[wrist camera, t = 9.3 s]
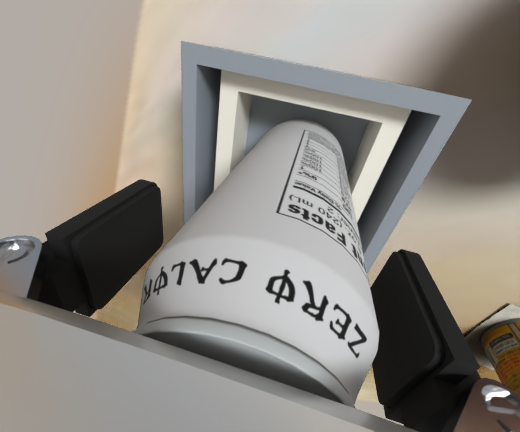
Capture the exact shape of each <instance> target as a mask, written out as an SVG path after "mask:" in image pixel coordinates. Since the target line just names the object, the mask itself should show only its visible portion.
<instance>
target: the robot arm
mask: <svg viewBox="0 0 520 432" xmlns="http://www.w3.org/2000/svg"><path fill="white" fill-rule="evenodd" d="M45 235H46V237H47V241H46V242H44V243H42V242H41V241H40V240H39V239H38V238H35V237H32V236H13V237H7V238H4V239H0V432H520V395H518V394H517V393H516V392H514V391H513V390H512V389H510V388H509V387H507V386H506V385H504V384H502V383H500V382H498V381H495V380H492V379H488V378H482V379H481V378H480V376H479V374H478V372H477V369H479V368H480V366H479V364H478V362H477V360H476V358H475V357H474V355H473V353H472V351H471V349H470V347H469V345H468V344H467V342H466V340H465V338H464V336H463V334H462V332H461V331H460V329H459V327H458V325H457V323H456V321H455V319H454V317H453V316H452V314H451V312H450V310H449V308H448V306H447V304H446V303H445V301H444V299H443V297H442V295H441V293H440V291H439V290H438V288H437V286H436V284H435V282H434V280H433V278H432V276H431V275H430V273H429V271H428V269H427V267H426V265H425V263H424V262H423V260H422V258H421V256H420V255H419V254H417V253H414V252H410V251H406V250H403V249H401V250H399V251H398V252H393V253H392V254H391V256H390V257H389V259H388V261H387V262H386V264H385V265H384V267H383V269H382V270H381V272H380V274H379V275H378V277H377V278H376V280H375V282H374V283H373V285H372V286H371V288H370V289H371V294H372V299H373V304H374V309H375V314H376V319H377V324H378V329H379V342H378V350H377V353H376V356H375V358H374V360H373V362H372V366H373V372H374V378H375V384H376V390H377V396H378V400H379V402H380V404H382V405H384V410H385V416H386V418H388V419H390V420H393V421H396V422H399V423H402V424H404V426H402V425H399V424H396V423H394V422H391V421H388V420H385V419H382V418H380V417H377V416H374V415H372V414H369V413H366V412H364V411H361V410H358V409H355V408H352V407H349V406H346V405H344V404H341V403H338V402H335V401H332V400H329V399H326V398H323V397H321V396H318V395H315V394H312V393H309V392H306V391H303V390H300V389H297V388H295V387H292V386H289V385H286V384H283V383H280V382H277V381H274V380H272V379H269V378H266V377H263V376H260V375H257V374H254V373H251V372H248V371H245V370H242V369H239V368H237V367H234V366H231V365H228V364H225V363H222V362H219V361H216V360H213V359H210V358H207V357H204V356H201V355H198V354H195V353H193V352H190V351H187V350H184V349H181V348H178V347H175V346H172V345H169V344H166V343H163V342H160V341H157V340H154V339H151V338H148V337H145V336H142V335H139V334H136V333H133V332H130V331H127V330H124V329H121V328H118V327H115V326H112V325H109V324H106V323H103V322H100V321H97V320H94V319H92V318H89V317H90V316H91V315H92V314H93V313H94V312H95V311H96V310H97V309H101V308H103V307H104V306H105V305H106V304H107V303H108V302H109V301H110V300H111V299H112V298H113V297H114V296H115V295H116V294H117V292H118V291H119V290H120V289H121V288H122V287H123V286H124V285H125V284H126V283H127V282H128V281H129V280H130V279H131V278H132V277H133V276H134V275H135V273H136V272H137V271H138V270H139V269H140V268H141V267H142V266H143V265H144V264H145V263H146V262H147V261H148V260H149V259H150V258H151V257H152V256H153V254H154V253H155V252H156V251H157V250H158V249H159V248H160V247H161V245H162V243H163V224H162V207H161V191H160V188H159V187H157V184H156V183H154V182H150V181H146V180H142V179H140V180H138V181H136V182H134V183H133V184H131V185H129V186H127V187H126V188H124V189H122V190H120V191H119V192H117V193H115V194H113V195H112V196H110V197H108V198H106V199H105V200H103V201H101V202H99V203H98V204H96V205H94V206H92V207H91V208H89V209H87V210H85V211H83V212H82V213H80V214H78V215H77V216H75V217H73V218H71V219H69V220H68V221H66V222H64V223H62V224H61V225H59V226H57V227H55V228H54V229H52V230H50V231H48V232H47V233H45ZM74 310H75V311H76V312H77V313H79V314H82V315H79V314H76V313H73V311H74ZM83 315H85V316H83ZM86 316H88V317H86Z"/></svg>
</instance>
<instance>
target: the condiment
mask: <svg viewBox="0 0 520 432" xmlns="http://www.w3.org/2000/svg"><path fill="white" fill-rule="evenodd" d="M464 338H465V340H466V342H467V344H468V345H469V347H470V349H471V351H472V353H473V355H474V357H475V358H476V360H477V362H478V364H479V365H483V366H485V367H487V368H489V369H491V370H494V371H496V373H497V375H498V377H499V379H500V380H501V382H502V384H504V385H506V386H507V387H509V388H510V389H512V390H513V391H514V392H516V393H517V394H518V395H520V307H518V306H515V305H513V304H510V305H509V306H507V307H506V308H504V309H503V310H501V311H500V312H498V313H496V314H495V315H493V316H492V317H491V318H490V319H488V320H486V321H484V322H483V323H482V324H481V325H480V326H477V327H476V328H475V329H474V330H473V331H471V332H470V334H469V335H467V336H466V337H464ZM476 339H477V340H476Z"/></svg>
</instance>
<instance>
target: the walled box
mask: <svg viewBox="0 0 520 432" xmlns="http://www.w3.org/2000/svg"><path fill="white" fill-rule="evenodd" d="M181 70H182V132H183V194H184V224H185V223H186V222H187V221H188V220H189V219H190V218H191V216H192V215H193V214H194V213H195V212H196V211H197V210H198V209H199V208H200V206H201V205H202V204H203V203H204V202H205V201H206V200H207V199H208V198H209V196H210V195H211V194H212V193H213V192H214V191H215V190H216V189H217V187H218V186H219V185H220V184H221V183H222V182H223V181H224V180H225V179H226V177H227V176H228V175H229V174H230V173H231V172H232V171H233V170H234V169H235V167H236V166H237V165H238V164H239V163H240V162H241V161H242V160H243V158H244V157H245V156H246V155H247V154H248V153H249V152H250V151H251V150H252V148H253V147H254V146H255V145H256V144H257V143H258V142H259V141H260V140H261V138H262V137H263V136H264V135H265V134H266V133H267V132H268V131H269V130H270V129H272V128H273V127H275V126H276V125H278V124H280V123H283V122H285V121H289V120H295V119H302V120H309V121H313V122H316V123H318V124H320V125H322V126H324V127H325V128H327V129H328V130H329V131H330V132H332V134H333V135H334V136H335V137H336V139H337V140H338V142H339V144H340V146H341V149H342V153H343V157H344V162H345V167H346V172H347V177H348V182H349V186H350V191H351V196H352V201H353V206H354V211H355V216H356V221H357V226H358V231H359V235H360V240H361V245H362V250H363V255H364V260H365V265H366V270H367V273H368V272H369V270H370V268H371V267H372V265H373V263H374V262H375V260H376V258H377V257H378V255H379V253H380V252H381V250H382V248H383V247H384V245H385V243H386V242H387V240H388V238H389V237H390V235H391V233H392V232H393V230H394V228H395V227H396V225H397V224H398V222H399V220H400V219H401V217H402V215H403V214H404V212H405V210H406V209H407V207H408V205H409V204H410V202H411V200H412V199H413V197H414V195H415V194H416V192H417V190H418V189H419V187H420V185H421V184H422V182H423V180H424V179H425V177H426V175H427V174H428V172H429V170H430V169H431V167H432V165H433V164H434V162H435V160H436V159H437V157H438V156H439V154H440V152H441V151H442V149H443V147H444V146H445V144H446V142H447V141H448V139H449V137H450V136H451V134H452V132H453V131H454V129H455V127H456V126H457V124H458V122H459V121H460V119H461V117H462V116H463V114H464V112H465V111H466V109H467V107H468V106H469V104H470V102H471V101H472V100H471V99H467V98H463V97H458V96H454V95H449V94H445V93H441V92H436V91H432V90H427V89H422V88H417V87H412V86H407V85H402V84H397V83H392V82H387V81H382V80H377V79H372V78H367V77H362V76H357V75H352V74H347V73H342V72H337V71H332V70H328V69H323V68H318V67H313V66H308V65H303V64H298V63H293V62H288V61H283V60H278V59H273V58H268V57H263V56H258V55H253V54H248V53H243V52H238V51H233V50H228V49H223V48H218V47H212V46H206V45H201V44H195V43H190V42H184V41H181Z"/></svg>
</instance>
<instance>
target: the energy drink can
mask: <svg viewBox="0 0 520 432" xmlns="http://www.w3.org/2000/svg"><path fill="white" fill-rule="evenodd" d="M133 333H136V334H139V335H142V336H145V337H148V338H151V339H154V340H157V341H160V342H163V343H166V344H169V345H172V346H175V347H178V348H181V349H184V350H187V351H190V352H193V353H195V354H198V355H201V356H204V357H207V358H210V359H213V360H216V361H219V362H222V363H225V364H228V365H231V366H234V367H237V368H239V369H242V370H245V371H248V372H251V373H254V374H257V375H260V376H263V377H266V378H269V379H272V380H274V381H277V382H280V383H283V384H286V385H289V386H292V387H295V388H297V389H300V390H303V391H306V392H309V393H312V394H315V395H318V396H321V397H323V398H326V399H329V400H332V401H335V402H338V403H341V404H344V405H346V406H349V407H352V408H355V406H354V404H355V401H356V398H357V395H358V393H359V391H360V388H361V386H362V384H363V382H364V380H365V377H366V375H367V373H368V371H369V369H370V367H371V364H372V362H373V360H374V358H375V356H376V353H377V350H378V342H379V329H378V324H377V319H376V314H375V309H374V304H373V299H372V294H371V289H370V285H369V280H368V275H367V270H366V265H365V260H364V255H363V250H362V245H361V240H360V235H359V231H358V226H357V221H356V216H355V211H354V206H353V201H352V196H351V191H350V186H349V182H348V177H347V172H346V167H345V162H344V157H343V153H342V149H341V146H340V144H339V142H338V140H337V139H336V137H335V136H334V135H333V134H332V132H330V131H329V130H328V129H327V128H325V127H324V126H322V125H320V124H318V123H316V122H313V121H309V120H302V119H295V120H289V121H285V122H283V123H280V124H278V125H276V126H275V127H273V128H272V129H270V130H269V131H268V132H267V133H266V134H265V135H264V136H263V137H262V138H261V140H260V141H259V142H258V143H257V144H256V145H255V146H254V147H253V148H252V150H251V151H250V152H249V153H248V154H247V155H246V156H245V157H244V158H243V160H242V161H241V162H240V163H239V164H238V165H237V166H236V167H235V169H234V170H233V171H232V172H231V173H230V174H229V175H228V176H227V177H226V179H225V180H224V181H223V182H222V183H221V184H220V185H219V186H218V187H217V189H216V190H215V191H214V192H213V193H212V194H211V195H210V196H209V198H208V199H207V200H206V201H205V202H204V203H203V204H202V205H201V206H200V208H199V209H198V210H197V211H196V212H195V213H194V214H193V215H192V216H191V218H190V219H189V220H188V221H187V222H186V223H185V224H184V225H183V227H182V228H181V229H180V230H179V231H178V232H177V233H176V234H175V235H174V237H173V238H172V239H171V240H170V241H169V242H168V243H167V244H166V246H165V247H164V248H163V249H162V250H161V251H160V252H159V253H158V254H157V256H156V257H155V258H154V259H153V261H152V263H151V264H150V266H149V268H148V270H147V271H146V275H145V280H144V286H143V292H142V299H141V306H140V313H139V320H138V326H137V329H136V330H135V331H133ZM355 409H356V408H355Z"/></svg>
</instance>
